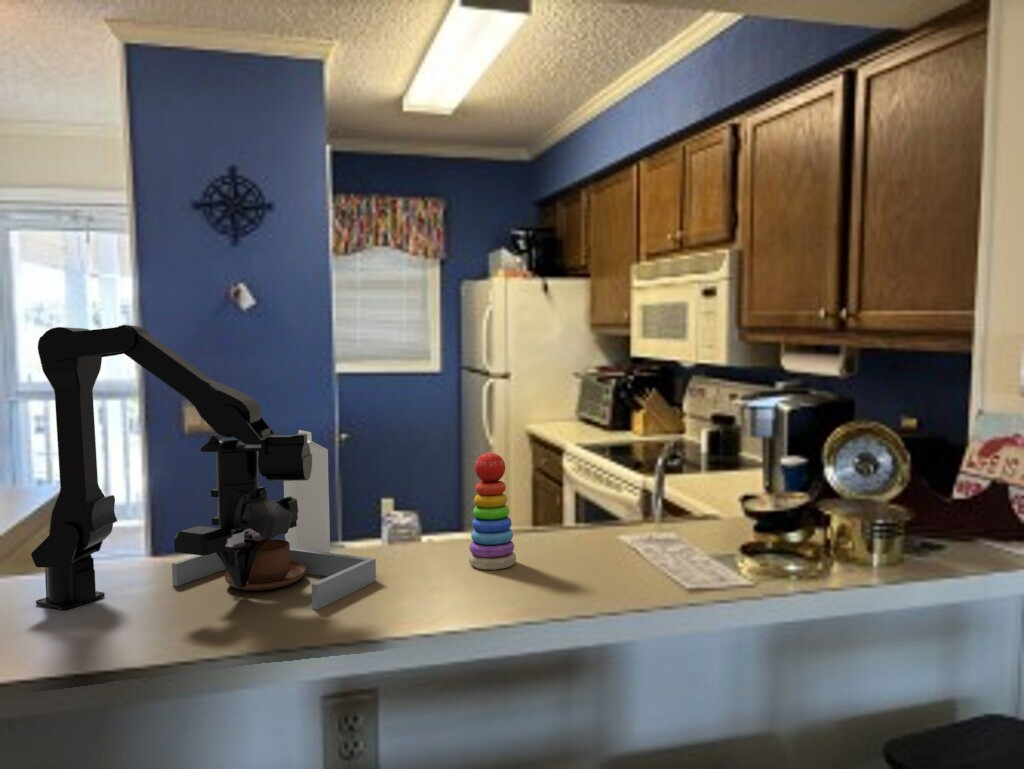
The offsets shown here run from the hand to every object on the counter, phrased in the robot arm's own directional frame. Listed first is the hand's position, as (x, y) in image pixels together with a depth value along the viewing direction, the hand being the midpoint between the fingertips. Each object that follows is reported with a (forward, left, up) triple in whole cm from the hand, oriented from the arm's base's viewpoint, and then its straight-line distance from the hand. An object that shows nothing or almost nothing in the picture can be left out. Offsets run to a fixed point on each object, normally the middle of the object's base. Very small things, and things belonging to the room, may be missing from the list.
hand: (240, 587), depth 110 cm
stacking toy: (+27, +29, -2) cm, 40 cm away
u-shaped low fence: (0, +6, -2) cm, 6 cm away
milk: (-6, +22, -2) cm, 23 cm away
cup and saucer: (-1, +7, -2) cm, 7 cm away
